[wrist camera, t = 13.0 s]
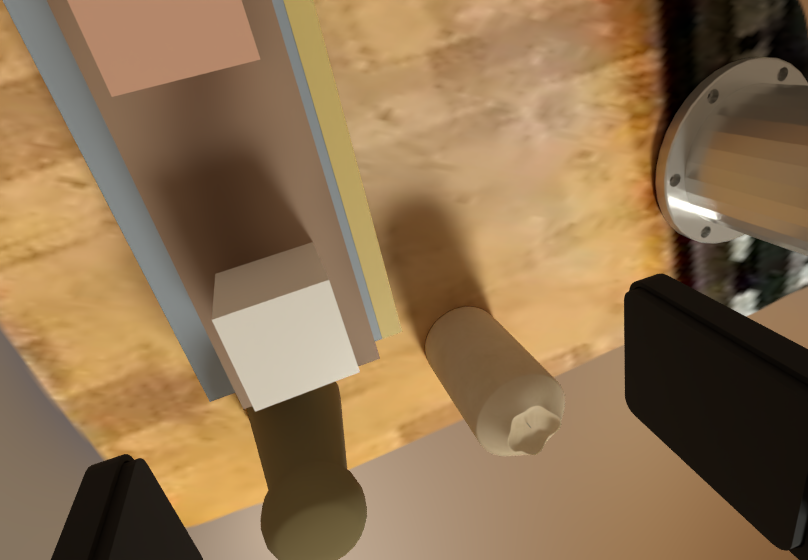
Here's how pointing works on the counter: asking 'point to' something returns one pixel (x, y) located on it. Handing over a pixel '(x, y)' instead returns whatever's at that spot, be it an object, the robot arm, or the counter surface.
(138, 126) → the brown wooden bar
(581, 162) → the counter surface
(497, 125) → the counter surface
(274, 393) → the white cube
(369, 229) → the block
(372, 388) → the counter surface
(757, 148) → the robot arm
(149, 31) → the salmon pink cube
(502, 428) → the candle
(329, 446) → the olive pepper mill
